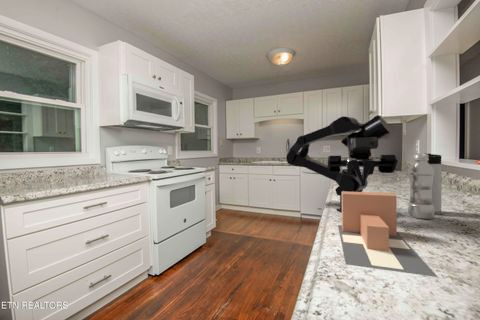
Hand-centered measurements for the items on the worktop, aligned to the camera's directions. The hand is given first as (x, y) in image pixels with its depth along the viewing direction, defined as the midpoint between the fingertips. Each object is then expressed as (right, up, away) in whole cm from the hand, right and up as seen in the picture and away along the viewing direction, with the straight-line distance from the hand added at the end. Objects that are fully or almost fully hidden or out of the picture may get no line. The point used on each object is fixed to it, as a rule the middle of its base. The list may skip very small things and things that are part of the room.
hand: (363, 185), depth 64 cm
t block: (-4, -12, -10) cm, 16 cm away
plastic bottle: (+21, -11, +5) cm, 24 cm away
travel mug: (+29, -11, +12) cm, 33 cm away
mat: (-5, -12, -14) cm, 19 cm away
